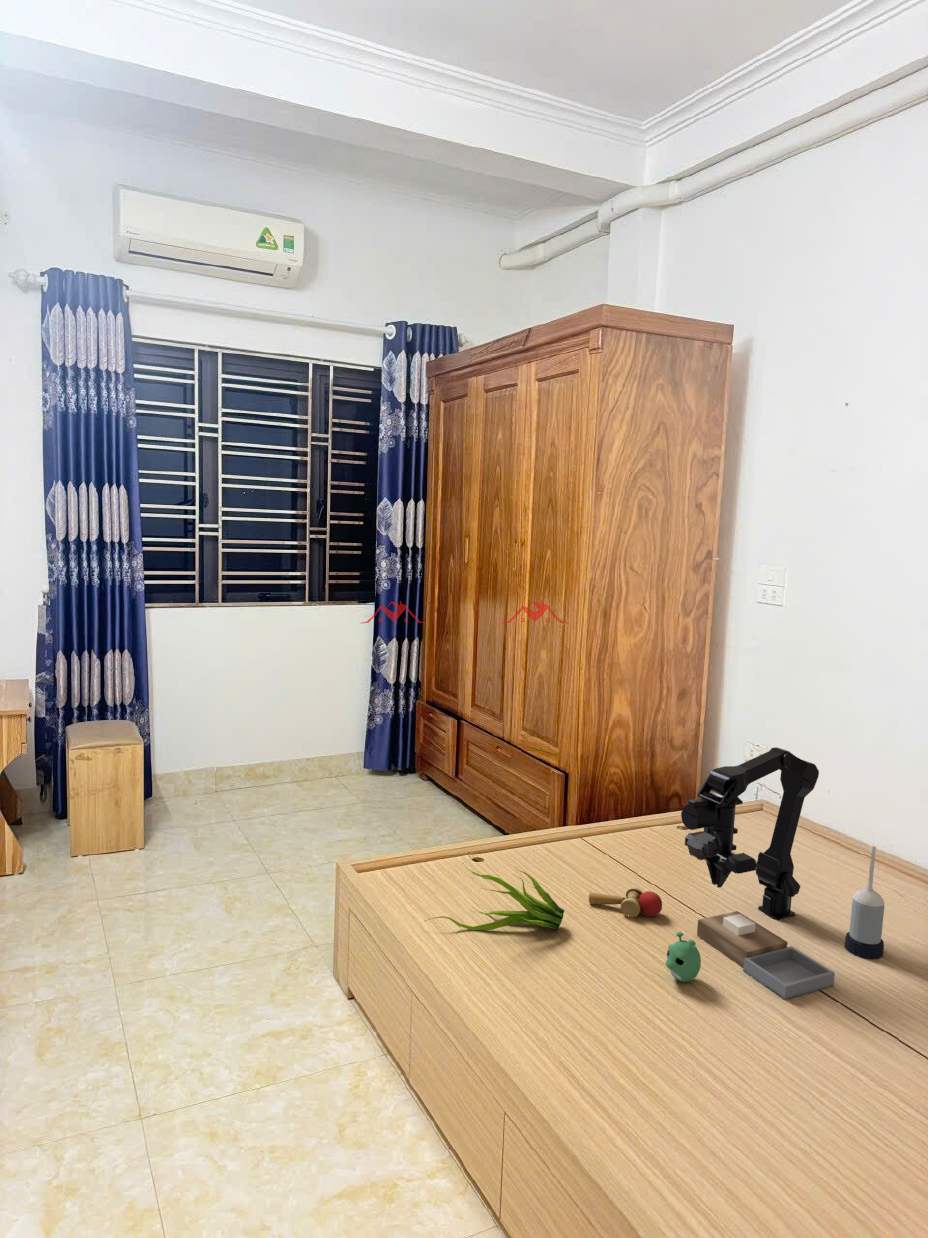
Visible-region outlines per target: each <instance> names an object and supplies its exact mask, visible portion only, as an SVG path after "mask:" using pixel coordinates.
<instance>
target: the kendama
mask: <svg viewBox="0 0 928 1238" xmlns="http://www.w3.org/2000/svg"><path fill="white" fill-rule="evenodd" d="M588 902H589V903H588V904H589V905H609V906H610V905H620V911H621V913H622V914H623V915H625V916H626V915H627V917H629V916H632V917H631V918H636V917H637V916H638V915H640V913H641V914H642V915H644V916H646V917H650V918H651V917H656V916H657V915H659V914H660V913H661V911H662V909H663V901H662V898H661V897H660V895H659V894H658V893H656V892H654V891H651V890H650V891H644V892H643V891H642V890H641V889H640V888H638V887H637V886H633V887H629V888H628V889H627V891H626V893H625V897H624V896H618V895H613V894H606V893H599V892H592V891H590V892H589V894H588ZM628 915H629V916H628Z"/></svg>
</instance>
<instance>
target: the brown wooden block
mask: <svg viewBox="0 0 928 1238" xmlns="http://www.w3.org/2000/svg"><path fill="white" fill-rule="evenodd" d="M737 914H741V915H743V916H744V917H746V918H747V919H749V920H751V921H752V922H754V923H755V932H751V933H747V934H743V935H739V936H738V935H736V934H735V933H733V932H732V931H730V930H729V929H727V928H725V927H724V926H723V918H724V917H729V916H733V915H737ZM696 936H697V937H698V938H699V939H701V940H703V941H704V942H705V943H706V944H708V945H709V944H710V945H709V946H711V947H713V949H715V950H716V951H718V952H719V953H721V954H723V955H724V956H725V957H727V958H729V959H730V960H731V961H733V962H734V963H735V964H737V965H738V966H739V967H741V968H743V967H744V958H747V957H751V956H755V955H759V954H763V953H767V952H771V951H775V950H779V949H783V948H787V947H788V941H787V940H785V939H784V938H782V937H780V936H778V934H776V933H773V932H772V931H771V930H769V929H767V928H766V927H764V926H762V925H761V924H759V923H758V922H756V921H754V920H752V919H751V918H750V917H748V916H746V915H744V914H743V913H741V912H739V911H738V910H736V911H732V912H731V911H730V912H726V913H723V914H722V913H721V914H718V915H713V916H710V917H705V918H701V919H698V920H697V929H696Z"/></svg>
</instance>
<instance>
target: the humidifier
mask: <svg viewBox="0 0 928 1238" xmlns="http://www.w3.org/2000/svg"><path fill="white" fill-rule="evenodd" d="M876 851H877V849H876V846H875V845H872V848H871V856H870V863H869V864H870V865H869V872H868V873H869V874H868V882H867V886H866V888H862V889H860V890H857V891H856V892H855V893H854V895H852V896H853V897H852V901H851V902H852V903H851V912H850V920H849V921H850V922H849V931H848V932H846V935H845V941H844V948H846V949H845V950H846V951H847V952H848V953H849V954H851V955H853V956H856V957H858V958H861V959H865V960H878V959H881V958H883V956H884V947H885V944H884V940H883V939H882V934H883V927H884V926H883V922H884V914H885V900H884V897H882V896H881V894H879V893H878V892H877V891H875V889H873V883H874V874H875V873H874V869H875V860H876Z"/></svg>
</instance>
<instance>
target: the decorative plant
mask: <svg viewBox="0 0 928 1238" xmlns="http://www.w3.org/2000/svg"><path fill="white" fill-rule="evenodd" d="M462 864H463V865H464V866H465V867H466V869H467V870H468V871H469V872H471V873H472V874H473V875H474V876H476V877H477V876H478V877H481V878H483V879H485V880H490V881H493V882H495V883H496V884H499V885H500V886H502V887H503V888H505V889H507V890H508V891H507V890H506V891H505V890H494V889H487V888H485V890H488V891H492V892H495V893H496V892H497V893H500V894H503V895H504V894H505V895H509V896H511V898H513V899H514V901H515V900H516V902H518V903H519V904H520V905H521V906H522V907H523V908H524V909H525V910H491V911H489V912H483V911H480V910H478V909H476V908H475V907H473V906H472V905H471V906H470V907H471V908H473V909H475V910H476V911H478V912H479V913H481V914H484V915H496V916H499V917H500V916H502V917H504V918H501V919H499V920H496V921H493V922H489V923H483V924H479V925H474V926H472V925H468V924H464V923H460V922H458V921H457V920H455V919H453V918H451V917H448V916H443V915H442V916H436V917H434V919H442V918H444V919H447V920H450V921H451V922H453V923H454V924H456V925H457V926H458V927H461V928H464V929H467V930H470V931H493V930H497V929H500V928H503V927H507V926H508V927H509V926H512V925H519V924H530V925H537V926H541V927H545V928H546V927H547V928H551V929H554V930H555V931H559V929H560V926H561V924H562V921H563V919H564V913H565V910H564V908H561V907H560V906H559V905H558V904H557V902H555V900H554V899H553V898H552V897H551V895H550V893H549V892H547V891H546V890H544V888H542V886H541V885H540V884H539V882H538V881H537V880H536V879H535V878H534V877H533V876H531V875H530V874H528V873H527V872H525V871H522V870H520V869H518V868H517V867H515V869H516V870H517V871H519V872H521V874H522V873H523V875H526V876H527V877H528V878H529V879H530V881H531V882H532V885H533V886H531V885H529V884H528V883H527V885H528V886H529V887H530V888H533V889H535V890H536V892H537V894H538V895H539V897H540V898H541V899H542V900H543V901H544V902H543V901H541V900H539V899H537V898H535V897H534V896H532V895H531V894H529V893H528V892H527V891H526V888H525V881H524V880H523V878H522V877H520V876H518V875H517V874H514V873H513V875H514V876H515V877H518V878H519V879H520V880H521V882H522V891H523V892H521V891H520V890H519V889H517V888H516V887H514V886H512V885H511V884H510V883H508V882H506V881H505V880H503V879H502V878H501V877H498V876H493V875H490V874H480V873H477V872H474V871H473V870H472V869H469V868H468V867H467V866H466V865H465V863H464V862H463V861H462ZM480 889H481V890H484V888H482V887H480ZM432 919H433V917H431V918H428V919H426V920H425V922H427V921H429V920H432Z"/></svg>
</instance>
